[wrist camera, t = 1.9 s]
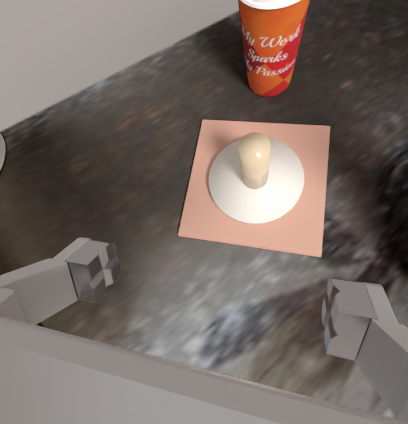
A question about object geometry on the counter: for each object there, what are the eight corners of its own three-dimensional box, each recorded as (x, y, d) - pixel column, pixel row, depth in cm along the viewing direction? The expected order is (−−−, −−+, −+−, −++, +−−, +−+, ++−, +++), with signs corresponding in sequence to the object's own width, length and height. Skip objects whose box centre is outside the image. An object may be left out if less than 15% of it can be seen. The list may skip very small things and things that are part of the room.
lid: (202, 218, 33) (186, 195, 26) (217, 137, 36) (207, 95, 29) (299, 230, 31) (312, 208, 23) (306, 142, 33) (320, 98, 26)
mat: (178, 236, 33) (177, 235, 33) (203, 121, 38) (202, 119, 37) (320, 257, 30) (321, 256, 29) (329, 127, 34) (330, 126, 34)
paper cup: (234, 100, 38) (223, -7, 25) (247, 55, 40) (243, -66, 26) (293, 107, 36) (315, -6, 23) (304, 59, 38) (330, -70, 25)
